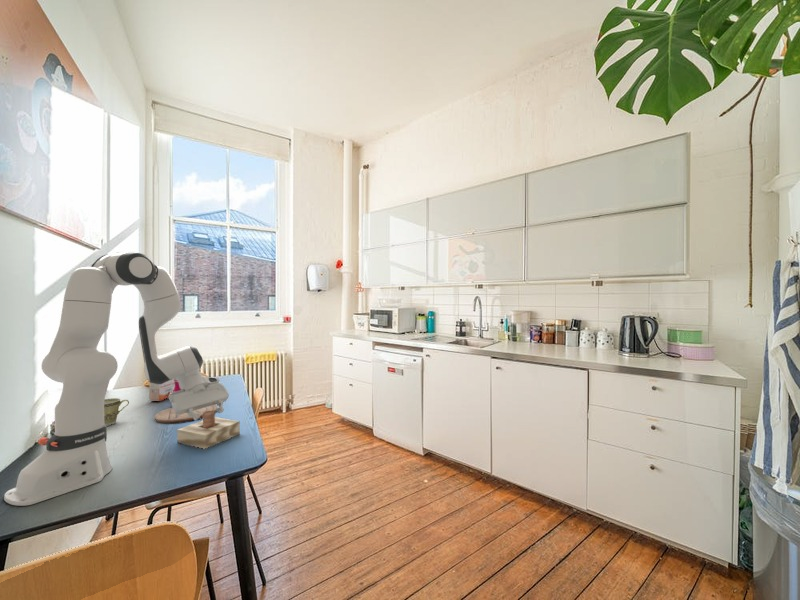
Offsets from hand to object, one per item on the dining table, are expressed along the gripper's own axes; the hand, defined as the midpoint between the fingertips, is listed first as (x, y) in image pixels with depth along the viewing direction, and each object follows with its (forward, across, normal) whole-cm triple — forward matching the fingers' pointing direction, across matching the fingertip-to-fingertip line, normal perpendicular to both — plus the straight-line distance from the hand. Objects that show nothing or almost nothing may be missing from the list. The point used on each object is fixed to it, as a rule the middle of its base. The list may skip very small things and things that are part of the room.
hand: (209, 415), depth 132 cm
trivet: (-21, +13, +34) cm, 42 cm away
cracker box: (-49, +22, +62) cm, 83 cm away
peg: (+6, 0, +7) cm, 9 cm away
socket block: (+6, 0, +7) cm, 9 cm away
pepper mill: (-35, +20, +48) cm, 63 cm away
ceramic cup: (-34, -10, +47) cm, 59 cm away
